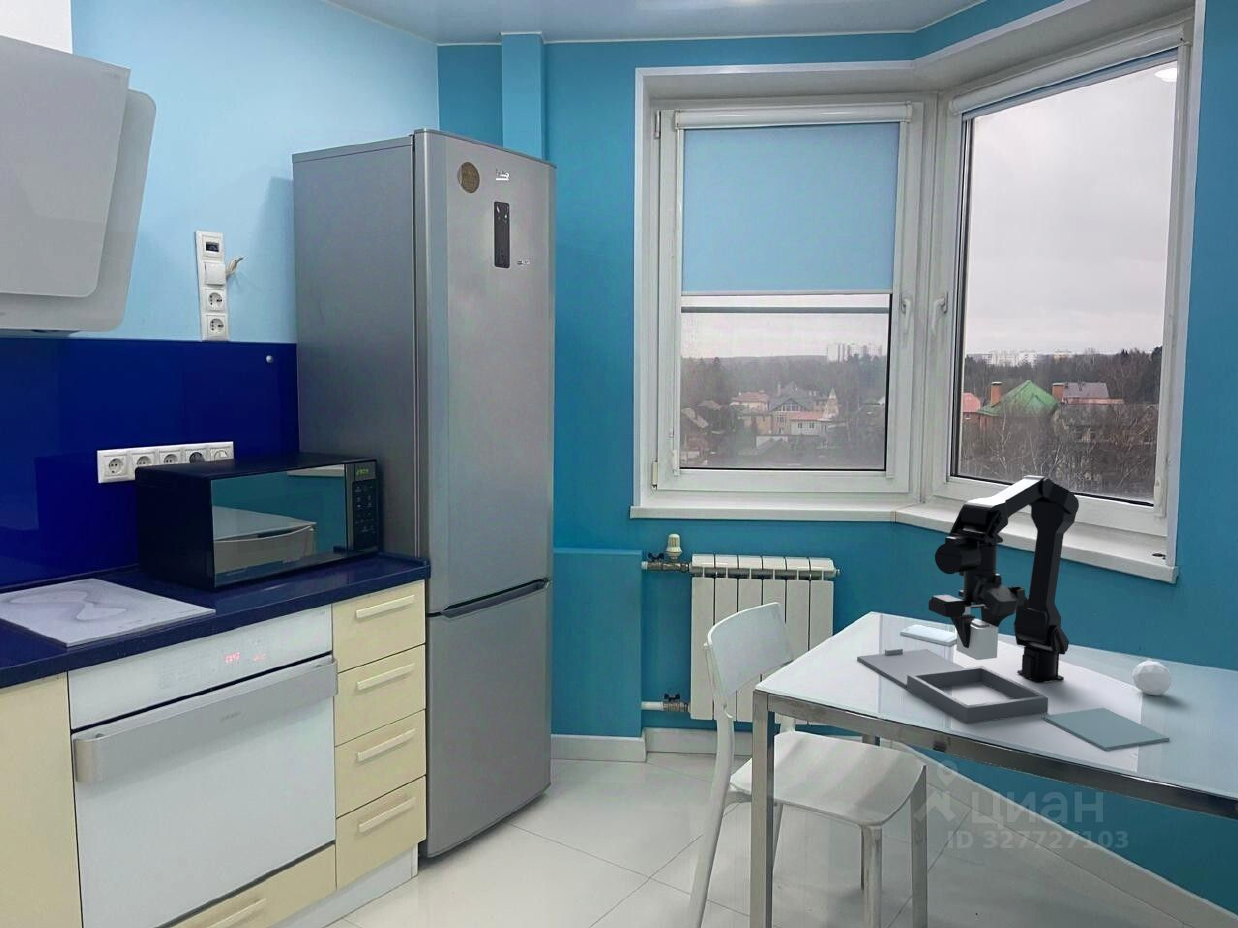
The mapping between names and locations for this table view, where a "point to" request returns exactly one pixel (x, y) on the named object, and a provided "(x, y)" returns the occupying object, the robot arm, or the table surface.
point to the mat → (1105, 728)
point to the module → (980, 641)
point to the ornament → (1152, 678)
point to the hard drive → (930, 634)
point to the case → (933, 670)
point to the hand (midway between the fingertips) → (976, 646)
